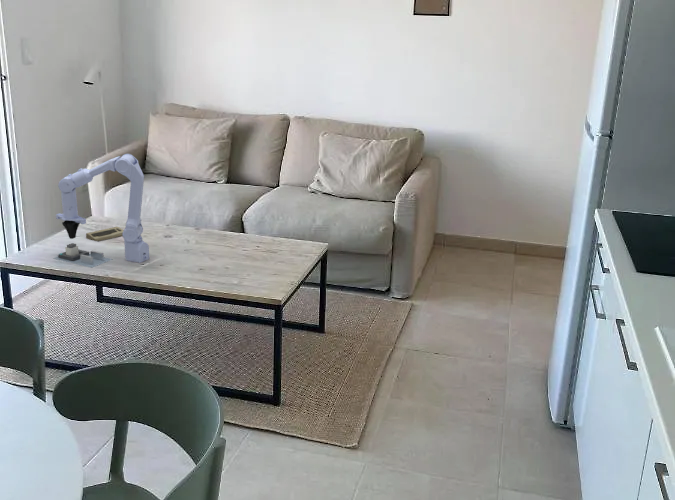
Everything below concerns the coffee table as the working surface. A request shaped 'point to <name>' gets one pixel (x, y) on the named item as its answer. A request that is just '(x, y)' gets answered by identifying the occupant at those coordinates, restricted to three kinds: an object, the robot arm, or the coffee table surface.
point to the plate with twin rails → (91, 257)
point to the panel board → (95, 261)
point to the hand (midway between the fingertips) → (72, 238)
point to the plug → (72, 249)
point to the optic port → (73, 258)
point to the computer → (105, 234)
